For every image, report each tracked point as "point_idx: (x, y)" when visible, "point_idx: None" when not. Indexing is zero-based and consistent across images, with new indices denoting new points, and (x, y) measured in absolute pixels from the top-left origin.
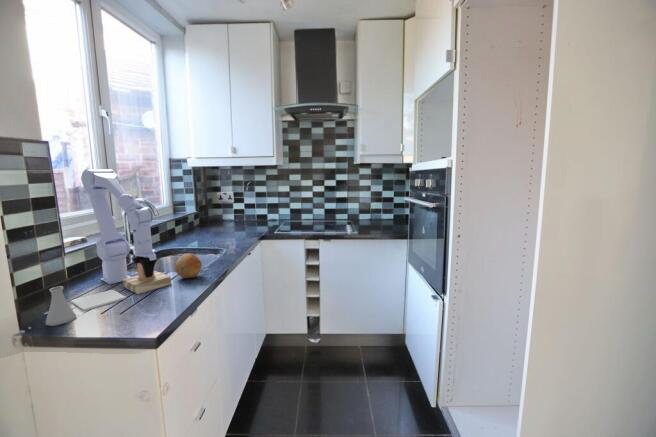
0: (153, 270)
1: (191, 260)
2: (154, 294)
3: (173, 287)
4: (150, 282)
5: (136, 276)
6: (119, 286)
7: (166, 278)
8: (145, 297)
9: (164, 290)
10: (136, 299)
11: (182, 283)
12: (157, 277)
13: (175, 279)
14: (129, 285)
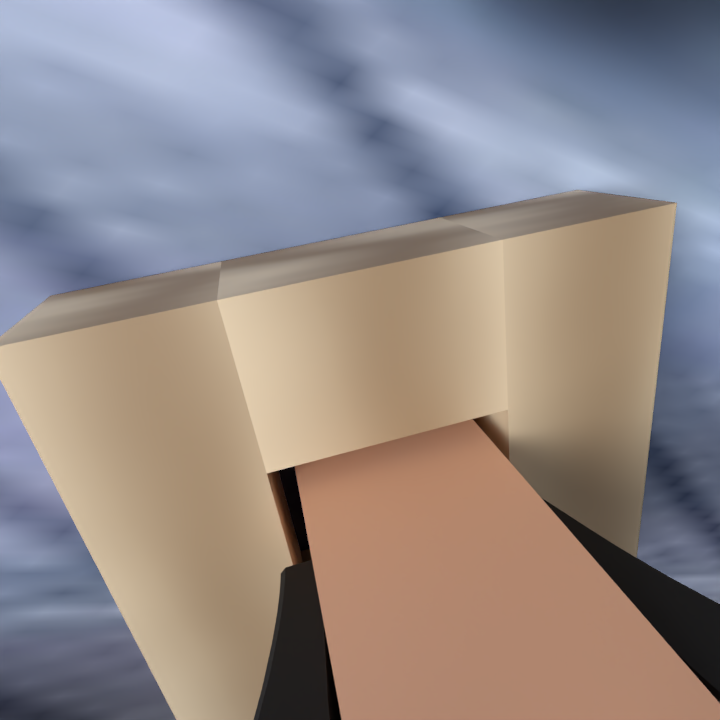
0: (567, 537)
1: None
2: (711, 433)
3: (716, 209)
4: (638, 503)
5: (191, 651)
6: (151, 698)
7: (656, 278)
8: (702, 504)
9: (704, 328)
10: (676, 563)
11: (694, 28)
12: (522, 398)
13: (403, 27)
14: None
